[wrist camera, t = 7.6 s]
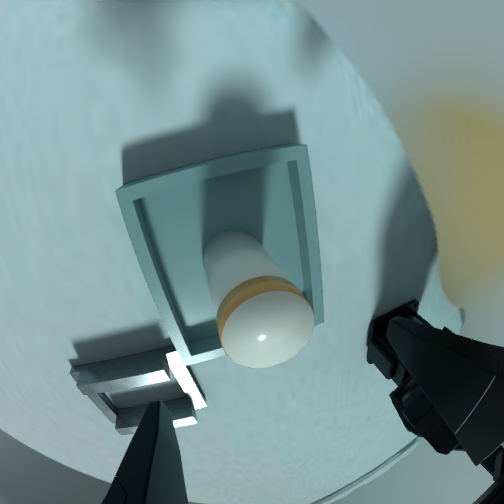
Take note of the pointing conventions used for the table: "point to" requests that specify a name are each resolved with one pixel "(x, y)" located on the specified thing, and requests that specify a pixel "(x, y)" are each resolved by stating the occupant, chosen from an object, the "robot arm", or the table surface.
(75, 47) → the table surface
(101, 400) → the clip rails
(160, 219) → the tray
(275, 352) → the cylinder
